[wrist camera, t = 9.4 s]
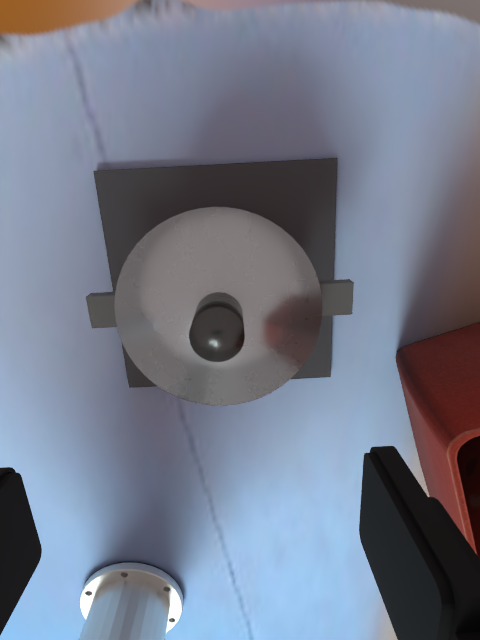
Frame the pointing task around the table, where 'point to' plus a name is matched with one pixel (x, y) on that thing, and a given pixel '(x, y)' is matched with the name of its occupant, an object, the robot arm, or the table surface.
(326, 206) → the plate
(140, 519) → the table surface
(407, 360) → the plant pot
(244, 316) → the lid
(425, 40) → the table surface
